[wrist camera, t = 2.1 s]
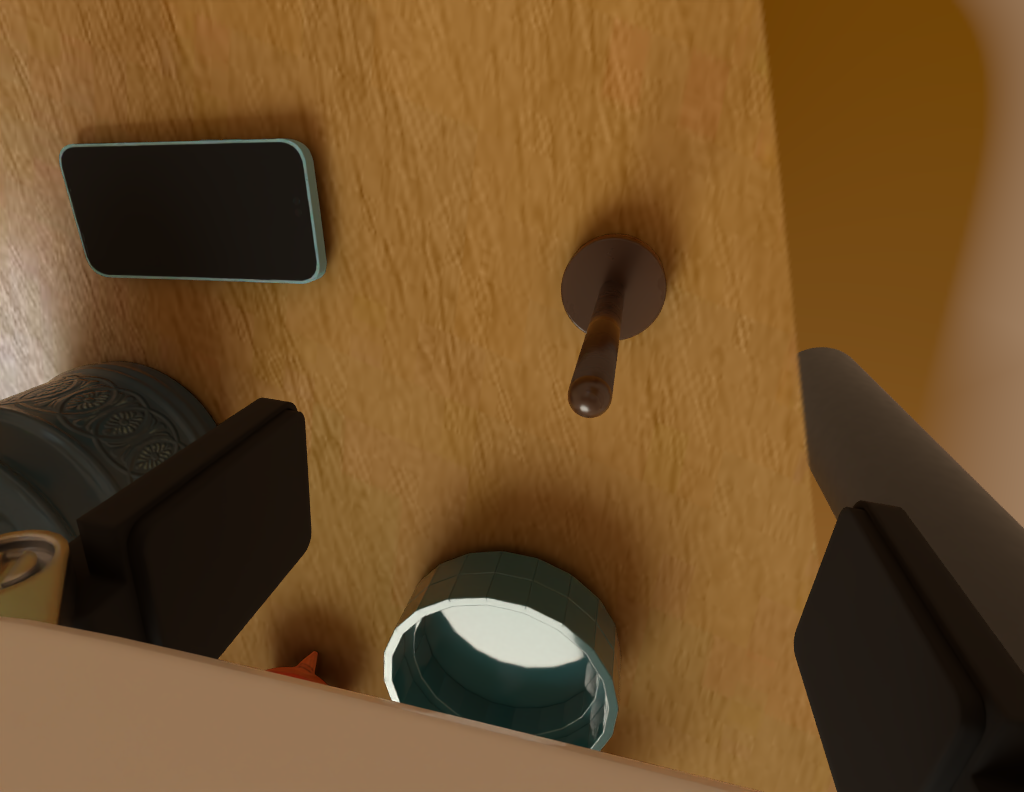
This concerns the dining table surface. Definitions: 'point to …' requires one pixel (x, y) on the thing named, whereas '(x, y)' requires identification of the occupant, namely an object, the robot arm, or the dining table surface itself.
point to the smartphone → (197, 209)
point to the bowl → (509, 649)
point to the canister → (88, 441)
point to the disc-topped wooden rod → (608, 310)
